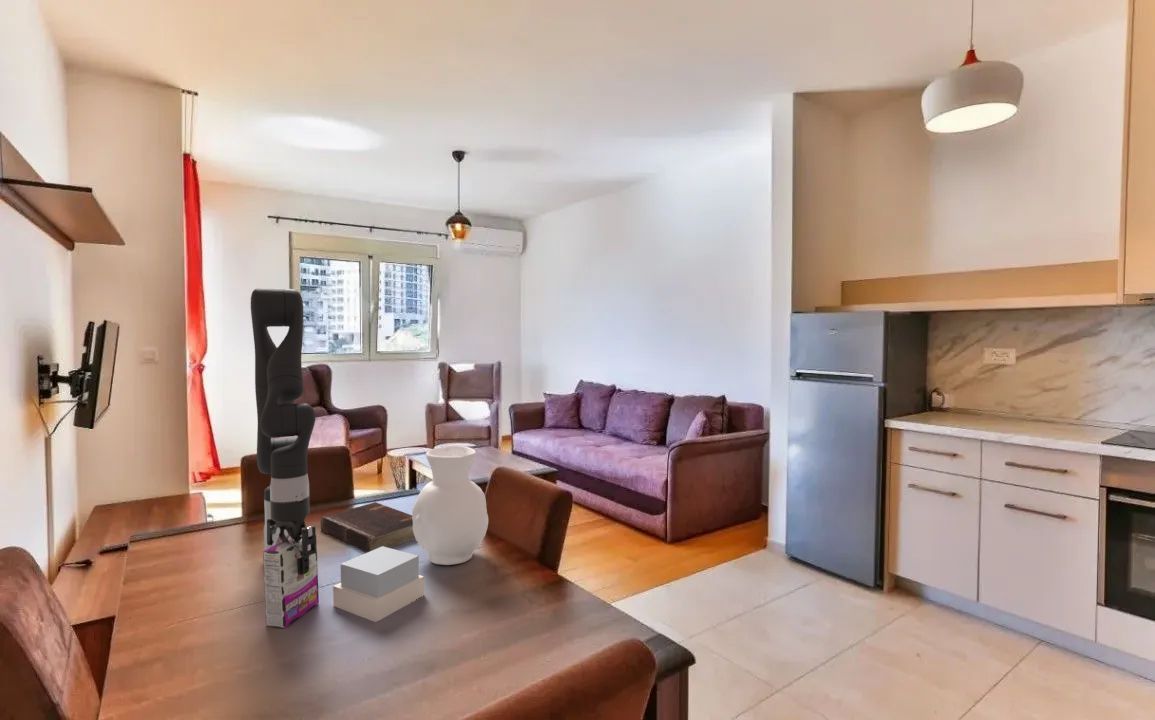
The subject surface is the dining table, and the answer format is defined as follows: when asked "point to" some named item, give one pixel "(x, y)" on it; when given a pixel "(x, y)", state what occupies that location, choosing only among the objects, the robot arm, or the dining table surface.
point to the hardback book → (370, 526)
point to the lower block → (377, 599)
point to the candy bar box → (288, 585)
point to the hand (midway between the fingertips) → (291, 569)
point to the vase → (450, 508)
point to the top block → (379, 571)
